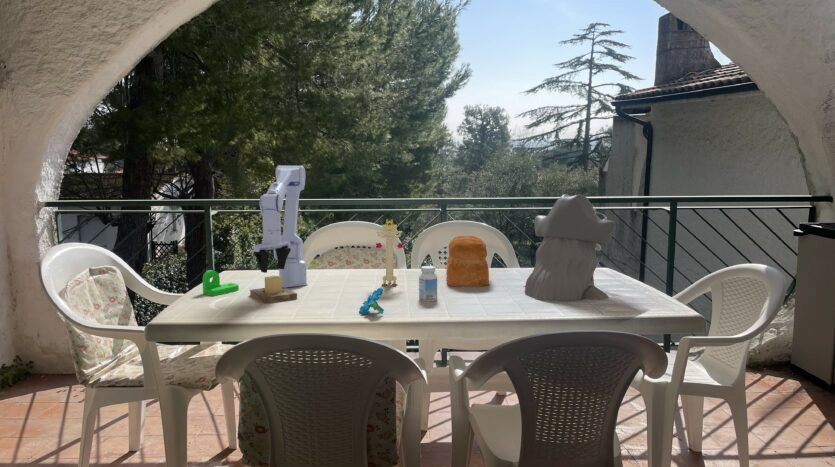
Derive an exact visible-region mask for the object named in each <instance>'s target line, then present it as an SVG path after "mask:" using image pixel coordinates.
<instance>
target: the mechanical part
mask: <svg viewBox="0 0 835 467" xmlns="http://www.w3.org/2000/svg"><path fill="white" fill-rule="evenodd" d="M211 278H212V280H210V279H211ZM220 279H221V278H220V274H219V273H218V271H216V270H212V269H208V270H206V271H205V272H204V273H203V275H202V294H203V295H208V296H214V297H216V296H221V295H225V294H228V293H230V294H231V293H234V292H237V291H239V283H235V282H234V283H233V282H228V283H224V284H221V282H220Z"/></svg>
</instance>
